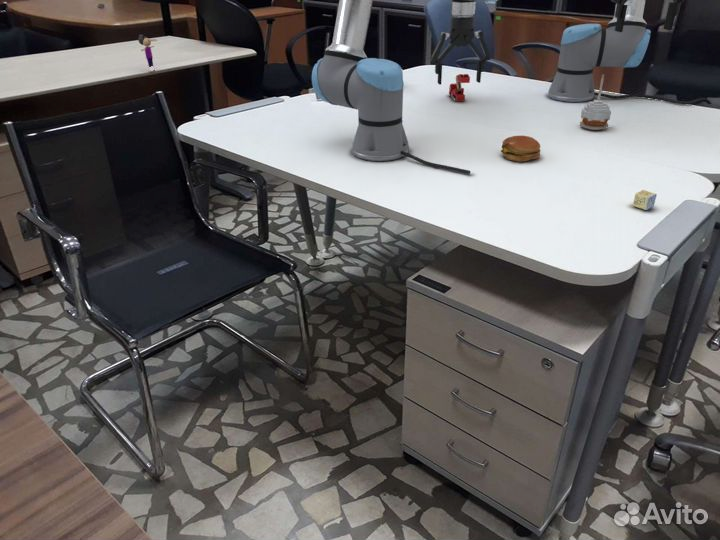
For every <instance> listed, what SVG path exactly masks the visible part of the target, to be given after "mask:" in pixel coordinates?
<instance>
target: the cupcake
mask: <svg viewBox="0 0 720 540" xmlns="http://www.w3.org/2000/svg"><path fill="white" fill-rule="evenodd" d="M604 80H605V74H601V79H600V85H599V89H598V93H599V94H598V96H597V99H593V101H588V103H586V104H585V105H584V107H583V108H582V109H581V112H580V113H581V114H580V119H582V120H581V121H579V126H580V127H582V128H584V129H587V130H590V131H591V130H592V131H599V130H605V129H607V128H609V122H608V121H610V120H611V115H612V110H611V108H610V106H609V104H608V103H607V102H606V101H603V100H602V99H601V97H602V96H601V93H602V90H603V86H604Z"/></svg>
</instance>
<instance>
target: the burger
mask: <svg viewBox="0 0 720 540" xmlns="http://www.w3.org/2000/svg"><path fill="white" fill-rule="evenodd" d="M500 152H501V153H502V156H503V157H505V158H506V159H507V160H509V161H513V162H527V161H530V160H535V159H538V158H540V157H541V144H540V142H539V141H538V140H537V139H535V138H534V137H532V136H529V135H512V136H508V137H506V138H504V139H503V140H502V145H501V149H500Z"/></svg>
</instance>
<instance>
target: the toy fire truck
mask: <svg viewBox="0 0 720 540" xmlns="http://www.w3.org/2000/svg"><path fill="white" fill-rule="evenodd" d="M470 81H471V77H470V75H469V74H468V73H463V74H462V73H458V74H456V76H455V82H454V83H450V84H449V87H448V89H449V90H448V97H449V98H452V100H453V101H454V102H465V101H466V94H464V93H465V91H464V90H465V88H464V87H462V84H469V83H470Z"/></svg>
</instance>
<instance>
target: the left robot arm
mask: <svg viewBox="0 0 720 540" xmlns="http://www.w3.org/2000/svg"><path fill="white" fill-rule="evenodd" d="M498 1H499V0H451V15H452V16H451V17H450V31H449V32H445V31H441V32H440V36H439V40H438V42H437V44H436V46H435V48H434V49H433V52H432V54H431V56H430V58H429V61H430V63H432V64H434V65H435V66H434V73H435V75H437V84H438V85H440V86H441V85H442V79H443V77H442V76H443V64H442V62H443V61H444V59H445V58H446V57H447V56H448V55H449V53H450V52H451V51H452V50H453V49H454V48H455V47H457V48H459V47H467V46H469V47H470V49H471V50H472V52H473V53H474V54H475V55H476V57H477V58H478V59H479V60H478V61H477V64H476V66H477V67H476V79H475V81H476V83H478V84H480V83H481V82H482V81H481V80H482V73H484V72H485V64H486V62H488V61H490V60H491V59H492V57H491V55H490V52H489V50H488V47H487V45H486V41H485V39H484V31H482V30H481V29H479V30H477V31H475V20H476V19H475V18H476V17H475V16H474V15H475V14H476V4H477V3H476V2H485V3H488V2H491V3H492V2H494V3H495V2H498ZM373 3H374V0H339V2H338V7H337V13H336V19H335V24H334V31H333V36H332V42H331V44H330V45H329V46H327V47H326V48H325V50H324V56H323V57H322V58H320V59H318V60H317V61H316V62H317V63H315V64H314V66H313V68H312V70H311V85H312V88H313V91H314V92H315V95H316V96H317V98H318V99H320V100H321V101H323V102H324V103H328V104H330V105H333V106H340V107H344V108H348V109H353V110H357V111H358V113H357V115H358V118H357V119H358V125H357V128H356V131H355V135H354V138H353V141H352V155H353V156H354V157H356V158H358V159H360V160H364V161H371V162H389V161H394V160H398V159H399V160H400V159H401V158H404V157H407V158H410V159H412V160H414V161H416V162H418V163H420V164H423V165H425V166H429V167H433V168H437V169H442V170H447V171H453V172H456V173H462V174H467V175H471V170H468V169H464V168H459V167H454V166H450V165H447V164H441V163H436V162H430V161H427V160H426V159H425V160H424V159H422V158H420V157H418V156H416V155H413V154H411V153H409V151H410V150H409V149H410V146H409V141H408V137H407V134H406V132H405V128H404V125H403V124H404V123H403V108H404V107H403V106H404V83H405V82H404V74H403V73H404V72H403V68H402V67H401V65H400V64H398V63H397V62H396V61H395V62H394V61H393V60H390V59H385V58H376V57H368V56H367V54H366V53H365V45H366V40H367V36H368V35H367V34H368V30H369V29H368V28H369V24H370V19H371V14H372V9H373ZM448 38H449V39H450V41H449V42H448V43H447V45H446V47H445V48H444V49H443V47H444V44H445V41H447V40H448ZM474 38H476V39H478V42H479V45H480V47H481V50H482V53H483V55H482V53H481V52H480V50H479V49H478V47H477V46H476V45H475V44H474V42H473V39H474ZM442 49H443V50H442ZM441 50H442V51H441Z"/></svg>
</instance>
